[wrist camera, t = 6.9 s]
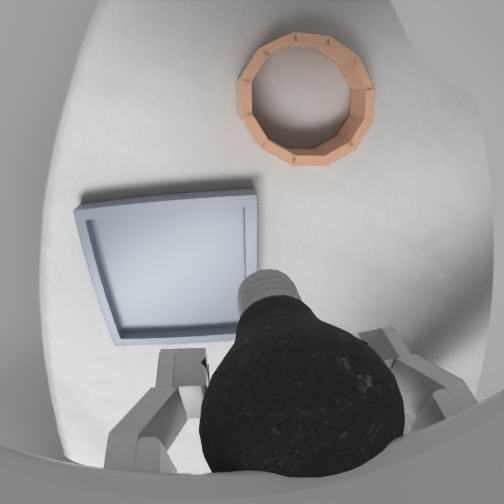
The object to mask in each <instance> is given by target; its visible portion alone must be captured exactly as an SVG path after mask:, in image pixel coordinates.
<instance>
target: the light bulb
mask: <svg viewBox="0 0 504 504" xmlns="http://www.w3.org/2000/svg"><path fill="white" fill-rule="evenodd" d="M237 306H238V313H239V322H238V324H237V328H236V337H235V343H234V345H233V346H232V347H231V349H230V350H229V352H228V353H227V354H226V356H225V357H224V359H223V360H222V362H221V363H220V365H219V366H218V368H217V369H216V371H215V372H214V373H213V375H212V378H211V380H210V383H209V385H208V388H207V390H206V393H205V395H204V398H203V400H202V405H201V415H200V424H199V434H200V439H201V444H202V450H203V454H204V457H205V459H206V461H207V463H208V465H209V467H210V469H211V471H212V473H216V472H232V471H244V470H254V471H263V472H269V473H274V474H278V475H281V476H285V477H296V478H320V477H326V476H331V475H336V474H340V473H344V472H347V471H350V470H353V469H355V468H357V467H359V466H362V465H363V464H365V463H367V462H368V461H370V460H371V459H373V458H374V457H376V456H377V455H378V454H380V453H381V452H382V451H383V450H385V448H386V447H387V446H388V445H389V444H390V443H391V442H392V441H393V440H394V439H396V438H398V437H401V436H403V432H404V426H405V413H404V401H403V398H402V395H401V392H400V389H399V387H398V384H397V381H396V378H395V376H394V374H393V373H392V371H391V370H390V369H389V368H388V366H387V365H386V364H385V362H384V361H383V360H382V359H381V357H380V356H379V355H378V354H377V353H376V352H375V351H374V350H373V349H372V348H371V347H370V346H368V345H367V344H365V343H364V342H363V341H361V340H360V339H359V338H357V337H355V336H354V335H352V334H351V333H349V332H346V331H344V330H342V329H340V328H338V327H335V326H333V325H331V324H328V323H326V322H323V321H321V320H319V319H318V318H317V317H316V316H315V314H314V313H313V312H312V310H311V309H310V308H309V307H308V306H307V305H306V304H304V303H303V302H302V301H301V298H300V296H299V294H298V292H297V289H296V286H295V285H294V283H293V282H292V281H291V280H290V278H289V277H288V276H287V275H286V274H284V273H282V272H280V271H278V270H272V269H268V270H260V271H257V272H255V273H252V274H251V275H249V276H248V277H246V278H245V279H244V281H243V282H242V283H241V285H240V287H239V289H238V299H237Z"/></svg>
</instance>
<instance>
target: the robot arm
mask: <svg viewBox="0 0 504 504" xmlns="http://www.w3.org/2000/svg"><path fill="white" fill-rule="evenodd" d="M352 335H354V336H355V337H357V338H359V339H360V340H361V341H363V342H364V343H365V344H367V345H368V346H370V347H371V348H372V349H373V350H374V351H375V352H376V353H377V354H378V355H379V356H380V357H381V359H382V360H383V361H384V362H385V364H386V365H387V366H388V368H389V369H390V370H391V371H392V373H393V374H394V376H395V378H396V381H397V384H398V387H399V389H400V392H401V395H402V398H403V401H404V413H405V426H404V432H403V436H401V437H398V438H396V439H394V440H393V441H392V442H391V443H390V444H389V445H388V446H387V447H386V448H385V450H383V451H382V452H381V453H380V454H378V455H377V456H376V457H374V458H373V459H371V460H370V461H368V462H367V463H365V464H363V465H362V466H359V467H357V468H355V469H353V470H350V471H347V472H344V473H340V474H336V475H331V476H326V477H320V478H296V477H285V476H281V475H278V474H274V473H269V472H263V471H254V470H244V471H232V472H216V473H177V470H176V468H175V466H174V464H173V463H172V461H171V459H170V457H169V456H168V454H167V451H168V449H169V447H170V446H171V444H172V443H173V441H174V440H175V438H176V437H177V435H178V434H179V432H180V431H181V429H182V428H183V426H184V425H185V423H186V421H187V419H189V418H200V415H201V405H202V400H203V398H204V395H205V393H206V390H207V388H208V385H209V383H210V372H209V364H208V360H207V351H206V348H189V349H161V350H160V353H159V360H158V369H157V378H156V387H155V388H150V389H149V391H148V392H147V393H146V394H145V395H144V396H143V397H142V398H141V399H140V400H139V401H138V402H137V404H136V405H135V406H134V407H133V408H132V409H131V410H130V411H129V412H128V413H127V414H126V415H125V416H124V418H123V419H122V420H121V421H120V422H119V423H118V424H117V425H116V426H115V427H114V428H113V429H112V430H111V432H110V433H109V435H108V442H107V448H106V455H105V463H104V468H98V467H92V466H85V465H79V464H74V463H68V462H63V461H58V460H54V459H49V458H45V457H41V456H37V455H33V454H29V453H26V452H22V451H18V450H15V449H12V448H9V447H6V446H3V445H0V504H504V389H503V390H502V391H500V392H498V393H496V394H495V395H493V396H491V397H489V398H487V399H485V400H483V401H482V402H480V403H478V402H477V400H476V399H475V397H474V396H473V394H472V392H471V391H470V389H469V388H468V386H467V385H466V383H465V382H464V380H463V379H461V378H459V377H457V376H455V375H453V374H452V373H450V372H448V371H446V370H444V369H442V368H440V367H439V366H437V365H435V364H433V363H431V362H429V361H427V360H426V359H424V358H422V357H420V356H418V355H416V354H411V352H410V351H409V349H408V348H407V346H406V345H405V343H404V342H403V340H402V339H401V337H400V336H399V334H398V333H397V331H396V330H395V329H394V327H393V326H391V325H388V326H383V327H378V328H372V329H366V330H361V331H355V332H353V333H352Z"/></svg>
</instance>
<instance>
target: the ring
mask: <svg viewBox="0 0 504 504" xmlns="http://www.w3.org/2000/svg"><path fill="white" fill-rule="evenodd" d="M286 47H294V48H307V49H315V50H317V51H318V52H320V53H321V54H323V55H324V56H326V57H327V58H329V59H330V60H332V61H333V62H335V63H336V64H338V66H339V68H340V69H341V71H342V73H343V75H344V77H345V79H346V81H347V83H348V85H349V87H350V113H349V116H348V118H347V119H346V121H345V123H344V124H343V126H342V127H341V129H340V131H339V132H338V134H337V136H336V137H334V138H332V139H330V140H328V141H327V142H325V143H323V144H321V145H319V146H317V147H316V148H314V149H286V148H284V147H282V146H281V145H279V144H277V143H275V142H274V141H272V140H270V139H268V138H267V137H266V135H265V134H264V132H263V130H262V129H261V127H260V125H259V124H258V122H257V120H256V119H255V117H254V116H253V114H252V80H253V79H254V77H255V75H256V74H257V72H258V71H259V69H260V67H261V66H262V64H263V63H264V61H265V59H266V58H267V56H269V55H271V54H273V53H275V52H277V51H280V50H282V49H284V48H286ZM374 91H375V88H374V86H373V84H372V81H371V79H370V77H369V75H368V73H367V71H366V69H365V67H364V65H363V63H362V61H361V59H360V57H359V56H358V55H356V54H355V53H354V52H352V51H351V50H350V49H348V48H347V47H345V46H344V45H343V44H341V43H340V42H338V41H337V40H335V39H334V38H333V37H331V36H327V35H319V34H311V33H301V32H292V33H290V34H288V35H285V36H283V37H281V38H279V39H277V40H275V41H272V42H270V43H268V44H266V45H264V46H262V47H260V48H259V49H258V50H257V51H256V52H255V53H254V54H253V56H252V57H251V59H250V60H249V62H248V64H247V65H246V67H245V68H244V70H243V72H242V73H241V75H240V77H239V78H238V80H237V111H238V115H239V117H240V119H241V120H242V122H243V123H244V125H245V127H246V128H247V130H248V131H249V133H250V135H251V136H252V138H253V139H254V141H255V142H256V144H257V145H258V146H259V147H260V148H261V149H263V150H265V151H267V152H269V153H271V154H272V155H274V156H276V157H278V158H280V159H282V160H283V161H285V162H287V163H289V164H290V165H292V166H308V165H312V166H327V165H329V164H331V163H332V162H334V161H336V160H338V159H339V158H341V157H343V156H345V155H347V154H348V153H350V152H352V151H354V150H356V148H357V147H358V145H359V144H360V142H361V140H362V139H363V137H364V135H365V134H366V132H367V131H368V129H369V127H370V126H371V124H372V122H373V114H374Z"/></svg>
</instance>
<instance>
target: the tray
mask: <svg viewBox="0 0 504 504" xmlns="http://www.w3.org/2000/svg"><path fill="white" fill-rule="evenodd" d="M73 212H74V216H75V221H76V225H77V229H78V233H79V237H80V241H81V245H82V249H83V252H84V256H85V260H86V263H87V266H88V270H89V273H90V277H91V280H92V283H93V286H94V289H95V292H96V295H97V298H98V301H99V304H100V307H101V310H102V313H103V316H104V318H105V321H106V324H107V327H108V329H109V332H110V335H111V337H112V340H113V342H114V345H163V344H186V343H204V342H218V341H231V340H235V337H236V328H237V324H238V322H239V313H238V306H237V299H238V289H239V287H240V285H241V283H242V282H243V281H244V279H245V278H246V277H248V276H249V275H251V274H252V273H255V272H257V194H256V192H255V190H254V188H252V189H233V190H216V191H201V192H187V193H175V194H163V195H152V196H142V197H132V198H123V199H114V200H106V201H97V202H89V203H82V204H80V205H79V206H78V207H77V208H76V209H75V210H74V211H73Z"/></svg>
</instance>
